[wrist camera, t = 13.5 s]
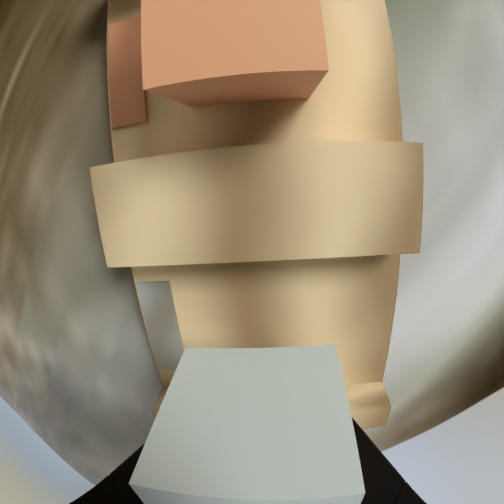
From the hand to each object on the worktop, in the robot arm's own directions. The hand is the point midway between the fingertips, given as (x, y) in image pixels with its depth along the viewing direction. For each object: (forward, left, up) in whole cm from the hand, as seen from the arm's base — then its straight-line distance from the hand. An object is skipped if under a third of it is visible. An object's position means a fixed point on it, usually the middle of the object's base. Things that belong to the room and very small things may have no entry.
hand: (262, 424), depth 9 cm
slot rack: (0, -6, -7) cm, 9 cm away
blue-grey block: (0, 0, -1) cm, 1 cm away
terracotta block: (0, -12, -6) cm, 13 cm away
